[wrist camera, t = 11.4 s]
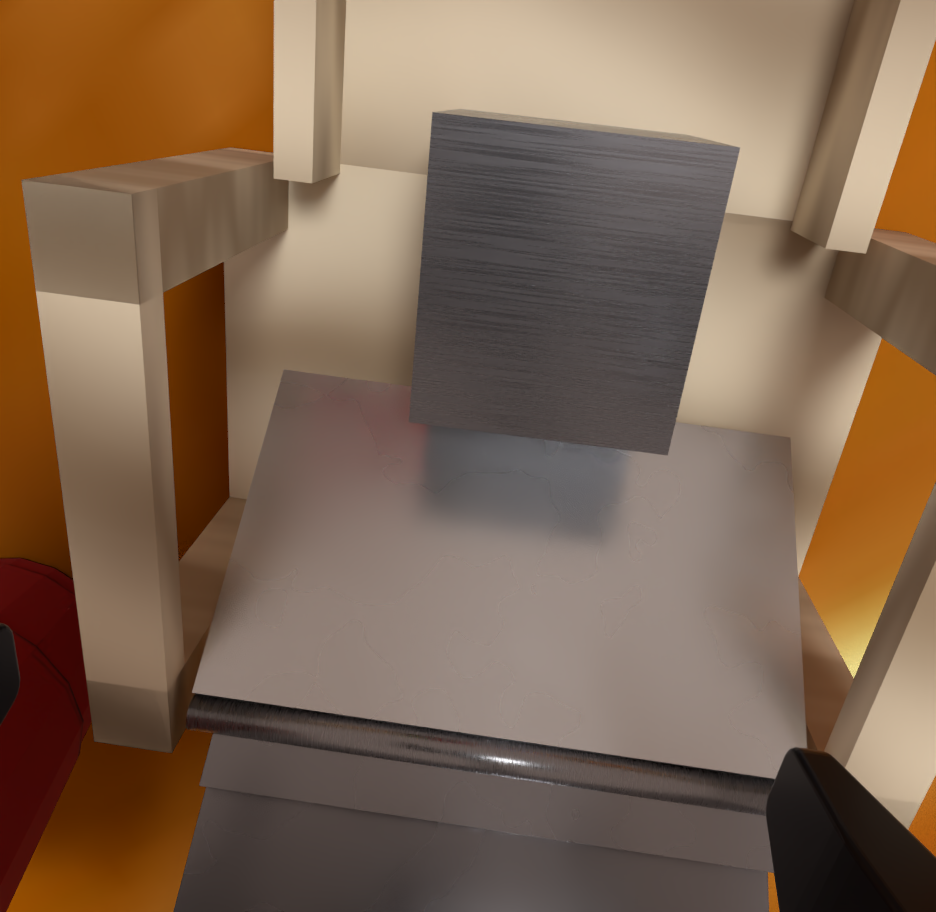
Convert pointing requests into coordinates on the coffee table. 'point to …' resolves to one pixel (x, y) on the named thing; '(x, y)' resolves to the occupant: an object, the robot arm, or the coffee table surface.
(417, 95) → the frame
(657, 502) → the trapdoor
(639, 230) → the block
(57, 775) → the plastic cup
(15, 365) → the coffee table surface
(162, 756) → the coffee table surface
